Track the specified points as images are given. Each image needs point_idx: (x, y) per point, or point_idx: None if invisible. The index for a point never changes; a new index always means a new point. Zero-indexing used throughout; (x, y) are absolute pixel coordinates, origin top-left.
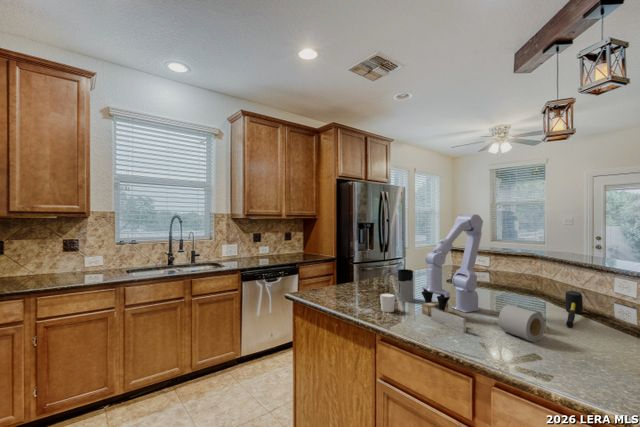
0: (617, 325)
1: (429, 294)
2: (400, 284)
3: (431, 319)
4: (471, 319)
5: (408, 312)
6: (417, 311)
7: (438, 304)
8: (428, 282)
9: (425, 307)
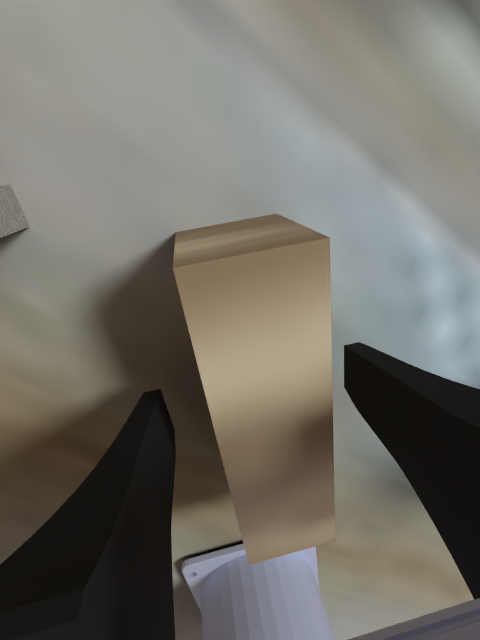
0: None
1: (471, 516)
2: None
3: (7, 186)
4: (19, 543)
5: (383, 29)
6: (361, 202)
7: (222, 461)
8: None
9: (228, 244)
